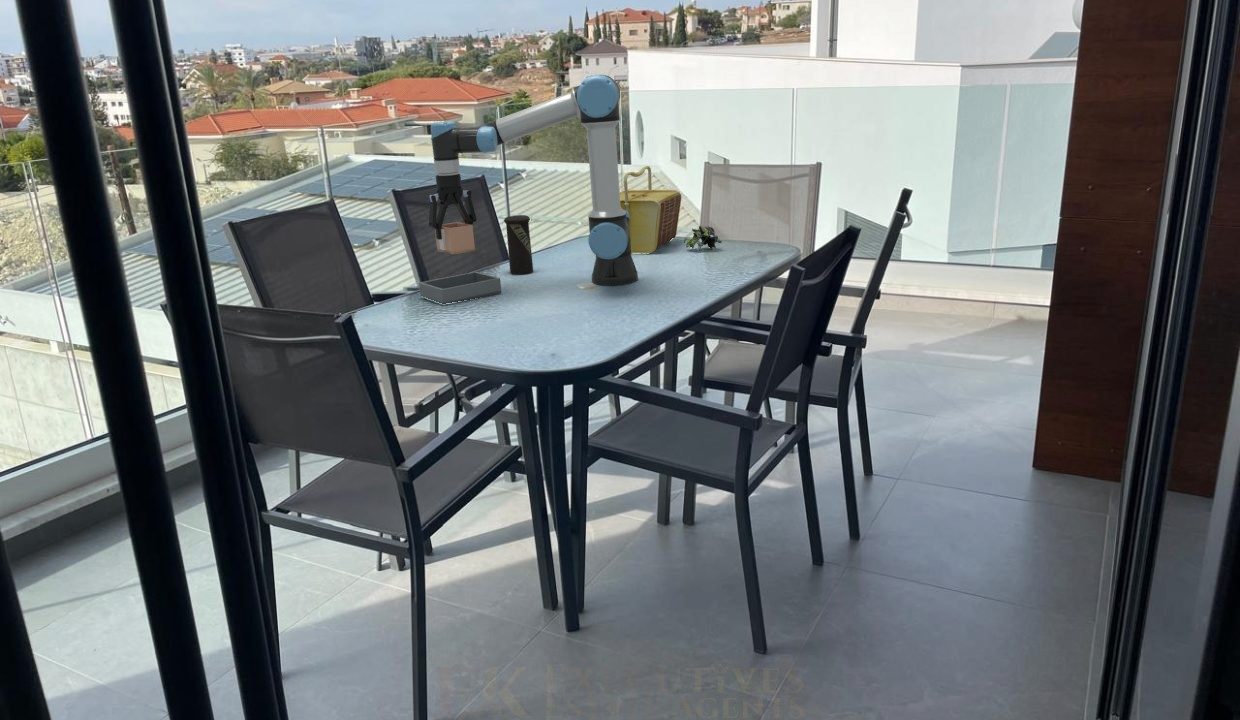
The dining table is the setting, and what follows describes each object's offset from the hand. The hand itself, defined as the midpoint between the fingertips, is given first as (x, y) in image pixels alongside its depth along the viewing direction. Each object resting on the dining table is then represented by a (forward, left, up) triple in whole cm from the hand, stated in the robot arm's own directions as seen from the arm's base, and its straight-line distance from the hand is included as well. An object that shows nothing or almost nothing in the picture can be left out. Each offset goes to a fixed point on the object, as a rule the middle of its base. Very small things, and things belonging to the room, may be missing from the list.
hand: (455, 247), depth 286 cm
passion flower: (-8, -97, -16) cm, 99 cm away
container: (+15, -32, -16) cm, 39 cm away
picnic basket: (+16, -87, -16) cm, 90 cm away
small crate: (0, 0, -1) cm, 1 cm away
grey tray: (0, 0, -16) cm, 16 cm away
